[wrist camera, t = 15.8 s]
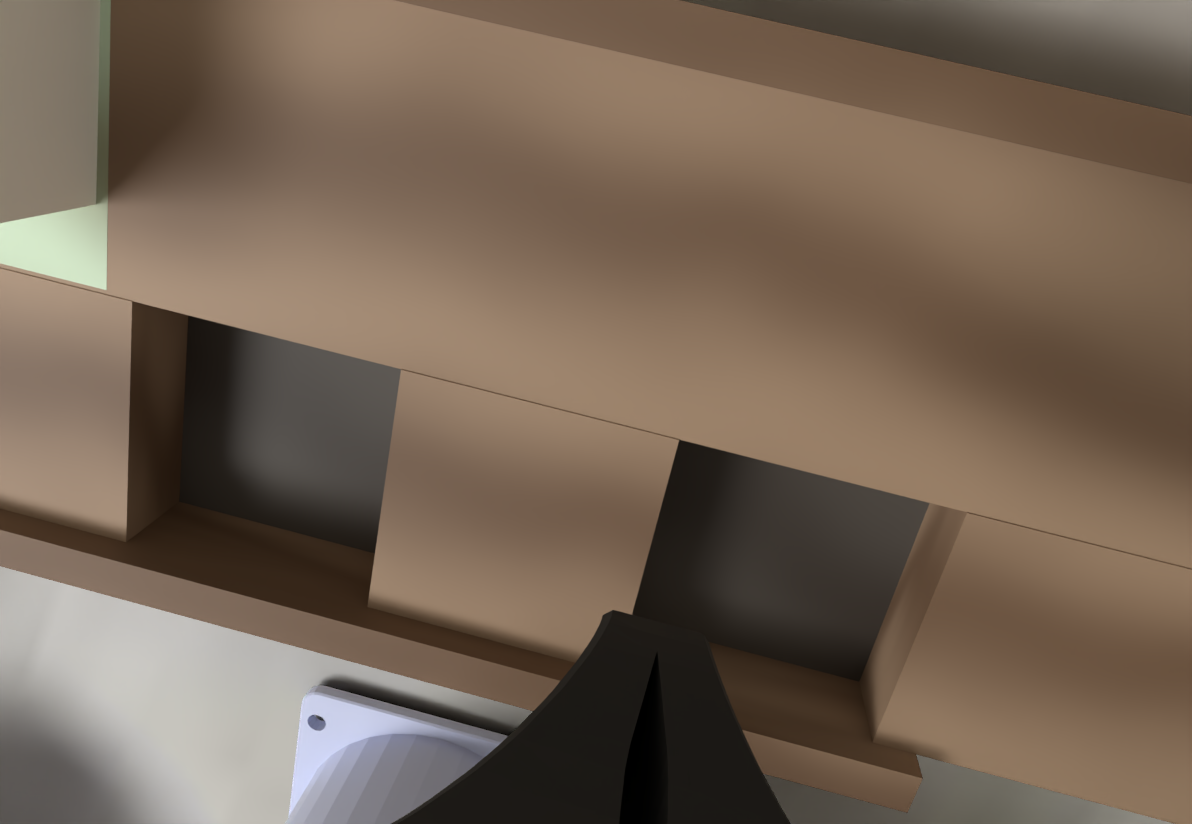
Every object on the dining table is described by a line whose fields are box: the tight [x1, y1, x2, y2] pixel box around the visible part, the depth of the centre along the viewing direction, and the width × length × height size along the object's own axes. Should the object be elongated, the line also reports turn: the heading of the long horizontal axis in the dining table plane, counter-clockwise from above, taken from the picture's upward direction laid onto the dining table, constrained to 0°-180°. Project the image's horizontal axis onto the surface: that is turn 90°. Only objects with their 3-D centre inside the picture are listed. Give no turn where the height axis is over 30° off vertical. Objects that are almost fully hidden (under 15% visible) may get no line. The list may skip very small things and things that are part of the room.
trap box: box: [0, 0, 1192, 824], centre depth 19 cm, size 15×34×3 cm, turn 78°
